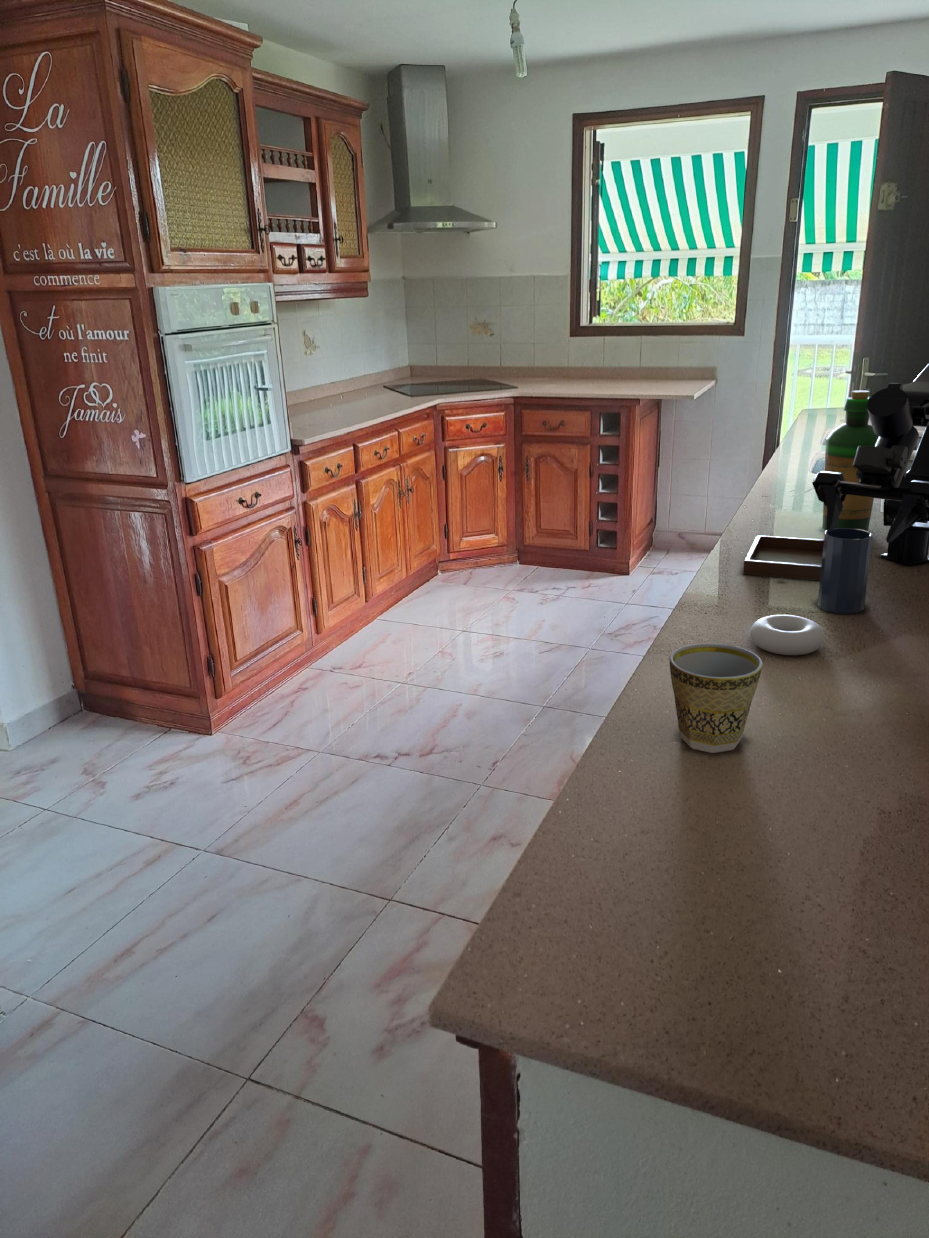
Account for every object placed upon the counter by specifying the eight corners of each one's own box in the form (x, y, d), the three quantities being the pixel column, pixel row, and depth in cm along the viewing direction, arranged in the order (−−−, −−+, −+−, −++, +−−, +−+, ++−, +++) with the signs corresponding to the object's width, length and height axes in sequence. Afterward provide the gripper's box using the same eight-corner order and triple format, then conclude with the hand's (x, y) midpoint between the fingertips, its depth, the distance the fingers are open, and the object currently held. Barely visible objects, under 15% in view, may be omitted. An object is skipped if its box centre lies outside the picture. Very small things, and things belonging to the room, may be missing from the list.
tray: (756, 548, 172) (757, 535, 171) (830, 553, 166) (832, 540, 166) (743, 574, 157) (744, 560, 156) (824, 581, 152) (826, 567, 151)
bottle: (816, 536, 177) (830, 394, 167) (817, 523, 186) (831, 388, 177) (873, 540, 173) (892, 394, 164) (872, 526, 183) (889, 388, 173)
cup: (842, 597, 144) (850, 525, 140) (873, 609, 138) (883, 535, 134) (808, 603, 142) (815, 531, 138) (838, 616, 136) (847, 541, 132)
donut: (824, 663, 120) (822, 635, 129) (826, 639, 119) (824, 613, 128) (747, 656, 124) (750, 629, 132) (749, 633, 122) (752, 608, 131)
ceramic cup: (741, 768, 95) (748, 684, 92) (653, 747, 100) (656, 667, 97) (772, 719, 105) (779, 642, 102) (690, 703, 110) (694, 629, 107)
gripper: (822, 421, 143) (787, 501, 139) (947, 429, 130) (912, 517, 127) (836, 462, 151) (803, 538, 147) (955, 473, 139) (923, 556, 135)
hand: (857, 536), depth 139 cm, fingers open, 9 cm apart
